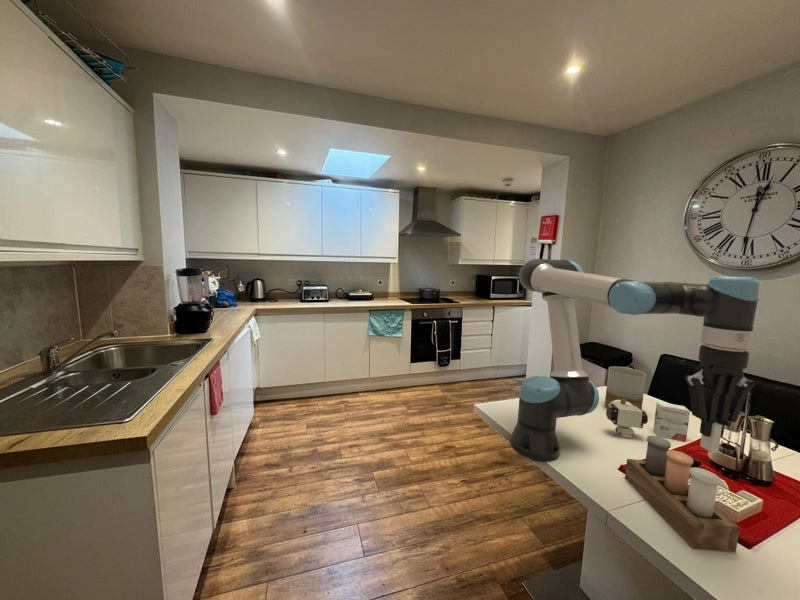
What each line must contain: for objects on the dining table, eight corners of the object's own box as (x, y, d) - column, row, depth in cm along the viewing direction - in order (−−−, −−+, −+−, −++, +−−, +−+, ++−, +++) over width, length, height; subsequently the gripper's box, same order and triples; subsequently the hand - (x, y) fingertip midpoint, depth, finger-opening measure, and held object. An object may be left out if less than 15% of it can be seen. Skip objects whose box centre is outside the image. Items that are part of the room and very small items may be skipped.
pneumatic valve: (645, 441, 112) (649, 409, 111) (609, 436, 115) (612, 405, 113) (637, 433, 118) (641, 402, 116) (602, 429, 120) (606, 399, 119)
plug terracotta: (672, 497, 77) (677, 461, 76) (657, 483, 82) (661, 449, 81) (693, 499, 77) (699, 463, 76) (677, 484, 82) (682, 450, 81)
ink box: (681, 435, 117) (685, 405, 116) (686, 442, 113) (690, 411, 111) (652, 430, 121) (656, 400, 119) (656, 436, 116) (660, 405, 115)
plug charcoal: (651, 478, 84) (655, 445, 83) (638, 466, 89) (642, 434, 88) (671, 479, 84) (675, 446, 83) (657, 467, 89) (661, 436, 88)
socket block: (691, 548, 69) (695, 523, 68) (624, 478, 92) (627, 458, 91) (735, 552, 68) (740, 527, 68) (657, 480, 91) (659, 461, 90)
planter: (605, 401, 146) (609, 364, 144) (640, 410, 138) (645, 370, 136) (603, 411, 135) (608, 371, 133) (641, 421, 128) (646, 378, 126)
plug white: (696, 520, 70) (702, 480, 69) (678, 503, 75) (684, 466, 74) (720, 522, 70) (727, 482, 69) (700, 505, 75) (706, 468, 74)
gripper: (708, 350, 65) (692, 457, 68) (775, 353, 64) (757, 461, 67) (678, 341, 73) (665, 438, 75) (738, 344, 72) (723, 442, 74)
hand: (708, 449), depth 71 cm, fingers closed
